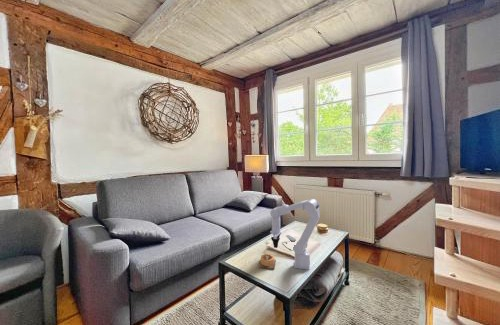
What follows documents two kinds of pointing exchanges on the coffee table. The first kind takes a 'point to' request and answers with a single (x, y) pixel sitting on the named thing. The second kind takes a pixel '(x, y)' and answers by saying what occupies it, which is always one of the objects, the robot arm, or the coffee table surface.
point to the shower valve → (291, 238)
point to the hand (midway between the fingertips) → (276, 244)
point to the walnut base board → (267, 266)
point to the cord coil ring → (267, 262)
